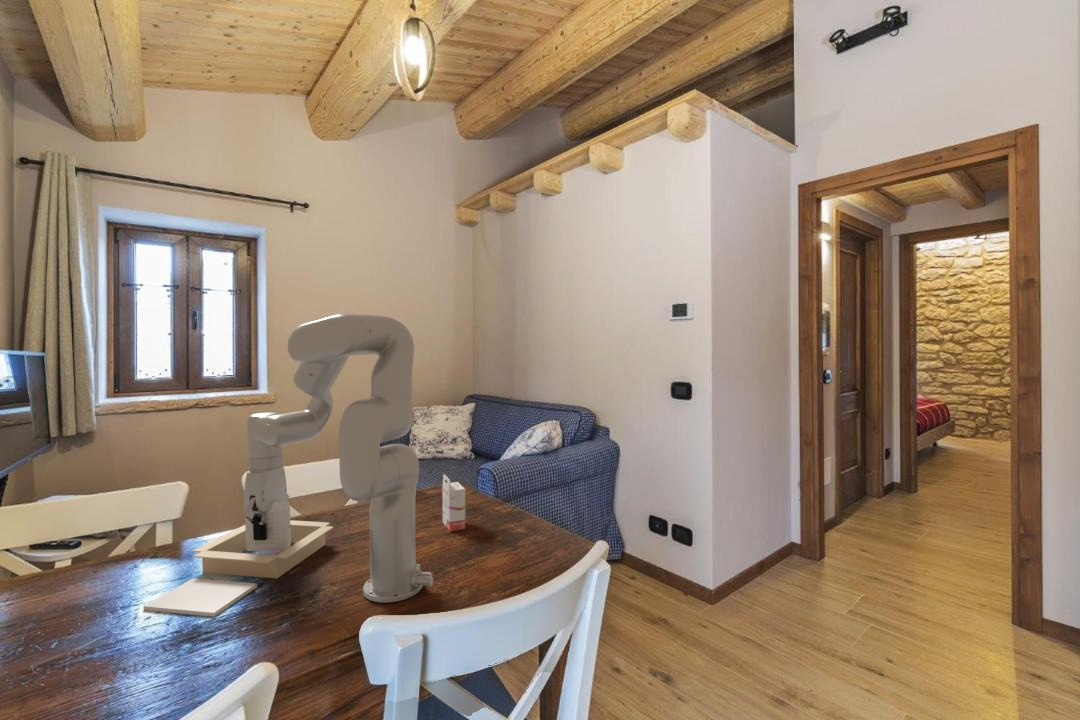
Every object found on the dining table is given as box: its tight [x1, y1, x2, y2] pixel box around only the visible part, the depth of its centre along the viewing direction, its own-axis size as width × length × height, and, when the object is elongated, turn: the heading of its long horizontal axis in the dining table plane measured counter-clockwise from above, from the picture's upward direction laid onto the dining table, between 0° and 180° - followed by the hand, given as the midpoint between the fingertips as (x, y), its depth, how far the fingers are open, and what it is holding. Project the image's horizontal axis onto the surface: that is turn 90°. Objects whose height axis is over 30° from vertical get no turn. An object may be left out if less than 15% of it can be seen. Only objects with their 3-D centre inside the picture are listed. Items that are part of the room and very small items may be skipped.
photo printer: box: [244, 499, 292, 552], centre depth 126 cm, size 10×4×12 cm, turn 97°
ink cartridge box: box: [442, 473, 466, 532], centre depth 148 cm, size 9×5×15 cm, turn 25°
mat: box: [143, 578, 258, 618], centre depth 107 cm, size 16×12×1 cm
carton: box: [192, 519, 335, 579], centre depth 127 cm, size 24×24×5 cm
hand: (268, 534), depth 126 cm, fingers closed on photo printer, 5 cm apart
